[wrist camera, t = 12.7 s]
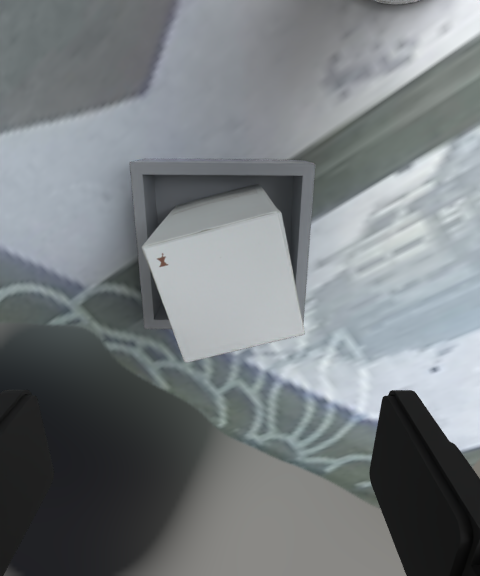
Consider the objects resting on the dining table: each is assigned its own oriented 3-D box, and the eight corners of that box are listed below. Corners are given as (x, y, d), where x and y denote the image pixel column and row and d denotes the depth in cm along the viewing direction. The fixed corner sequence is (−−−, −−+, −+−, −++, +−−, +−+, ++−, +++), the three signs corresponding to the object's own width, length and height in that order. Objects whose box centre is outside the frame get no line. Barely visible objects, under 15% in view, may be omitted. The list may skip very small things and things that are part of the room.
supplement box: (198, 287, 34) (179, 367, 22) (173, 204, 31) (136, 243, 19) (281, 267, 33) (307, 338, 21) (262, 181, 30) (281, 207, 19)
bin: (145, 158, 31) (129, 161, 26) (303, 159, 31) (315, 163, 26) (156, 303, 35) (144, 329, 31) (293, 304, 35) (302, 329, 31)
